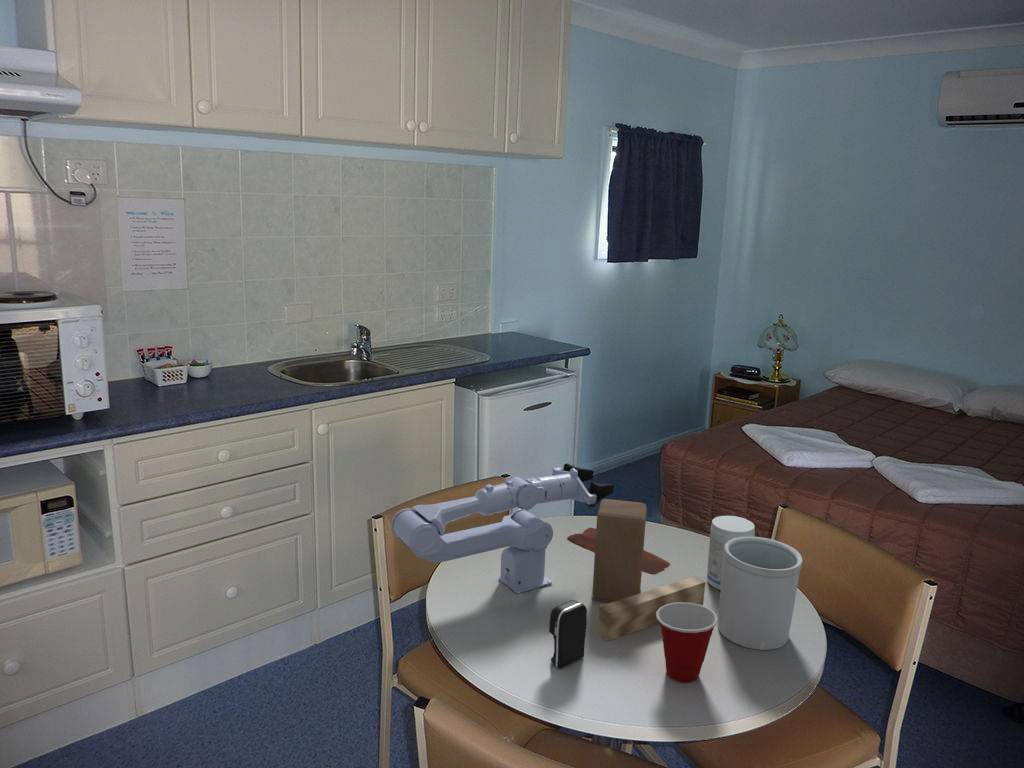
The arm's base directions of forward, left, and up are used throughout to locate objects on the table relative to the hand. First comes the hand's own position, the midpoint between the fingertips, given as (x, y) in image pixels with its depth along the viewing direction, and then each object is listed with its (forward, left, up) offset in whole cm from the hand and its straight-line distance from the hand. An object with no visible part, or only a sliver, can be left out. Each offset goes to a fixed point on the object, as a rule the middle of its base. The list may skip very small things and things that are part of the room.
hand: (602, 481), depth 182 cm
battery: (-31, -29, -21) cm, 47 cm away
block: (-6, -14, -21) cm, 25 cm away
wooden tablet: (+8, +2, -21) cm, 23 cm away
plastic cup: (-15, -43, -21) cm, 50 cm away
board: (-7, -26, -20) cm, 34 cm away
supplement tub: (+19, -23, -21) cm, 36 cm away
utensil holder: (+8, -40, -21) cm, 46 cm away
